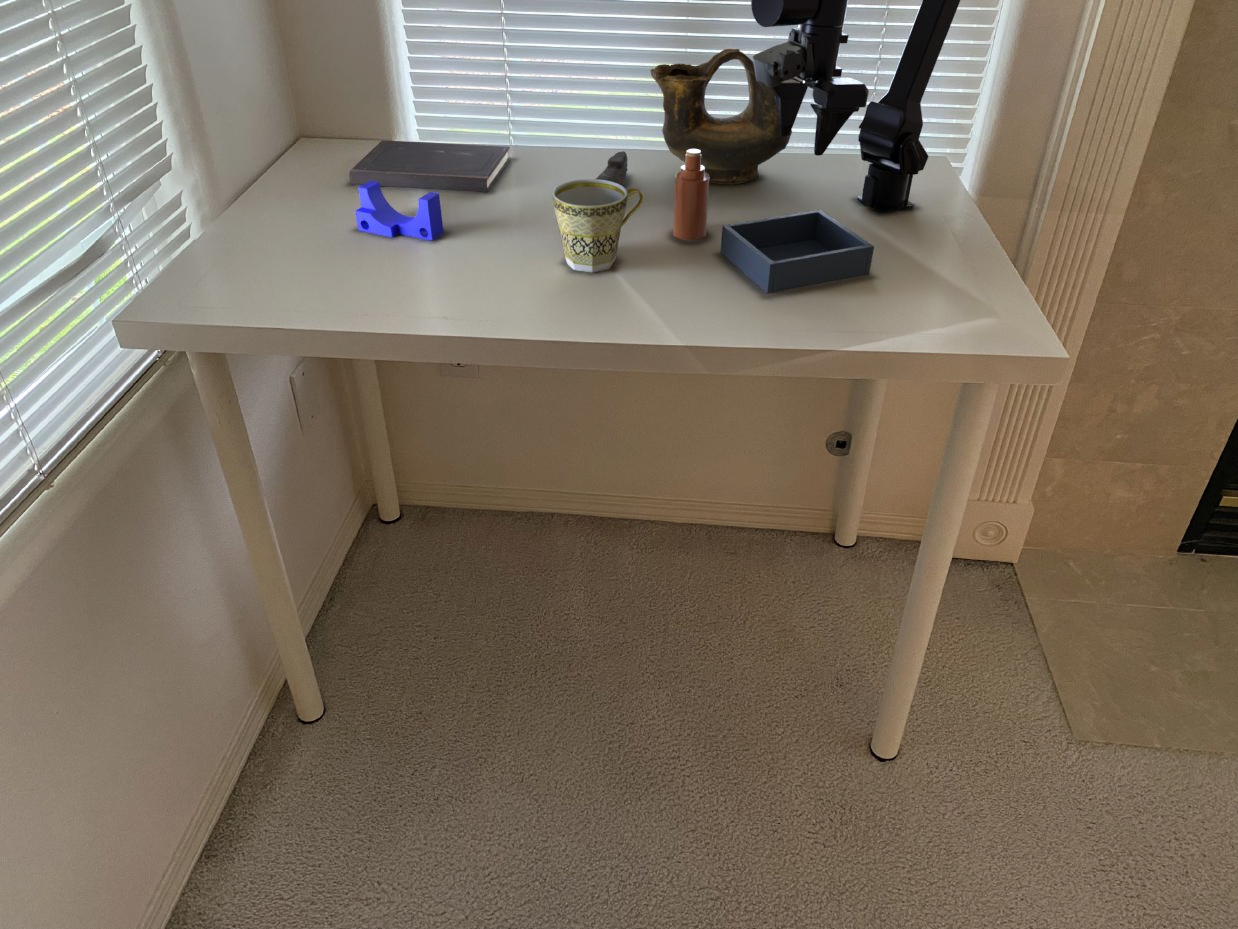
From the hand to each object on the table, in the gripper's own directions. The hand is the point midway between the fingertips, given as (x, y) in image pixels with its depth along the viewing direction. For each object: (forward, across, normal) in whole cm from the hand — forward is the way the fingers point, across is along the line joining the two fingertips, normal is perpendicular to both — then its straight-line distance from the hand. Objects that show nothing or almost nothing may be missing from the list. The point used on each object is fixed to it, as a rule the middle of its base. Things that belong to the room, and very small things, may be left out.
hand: (800, 145), depth 130 cm
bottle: (+14, -5, -13) cm, 20 cm away
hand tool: (+14, -25, -19) cm, 34 cm away
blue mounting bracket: (+16, -22, -52) cm, 59 cm away
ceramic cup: (+15, -2, -28) cm, 32 cm away
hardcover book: (+15, -44, -43) cm, 64 cm away
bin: (+14, +10, -4) cm, 17 cm away
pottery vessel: (+13, -26, +2) cm, 29 cm away
